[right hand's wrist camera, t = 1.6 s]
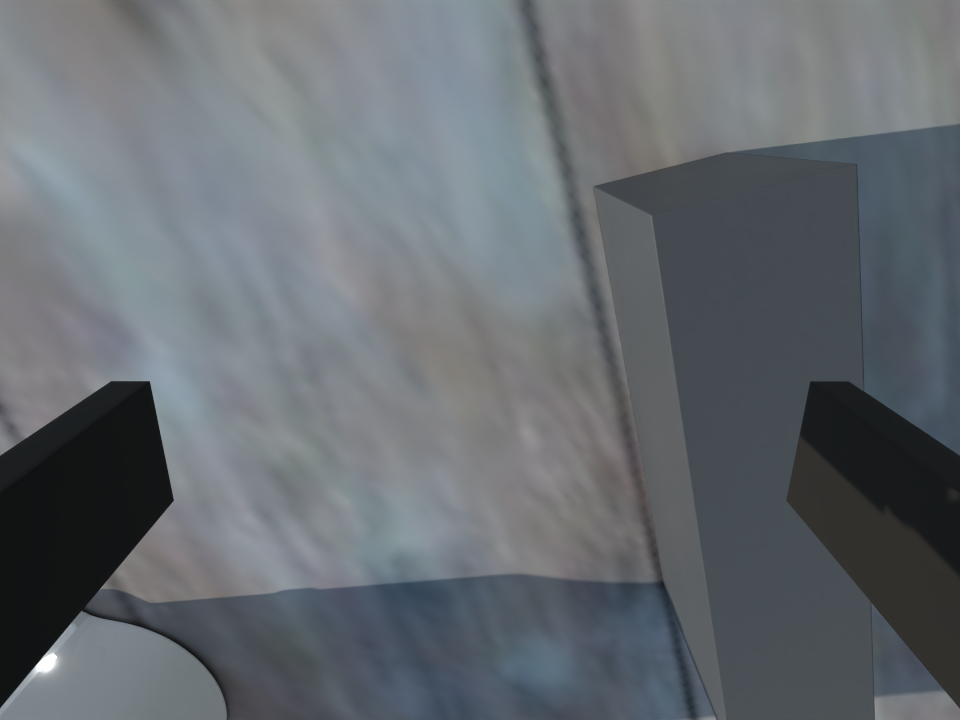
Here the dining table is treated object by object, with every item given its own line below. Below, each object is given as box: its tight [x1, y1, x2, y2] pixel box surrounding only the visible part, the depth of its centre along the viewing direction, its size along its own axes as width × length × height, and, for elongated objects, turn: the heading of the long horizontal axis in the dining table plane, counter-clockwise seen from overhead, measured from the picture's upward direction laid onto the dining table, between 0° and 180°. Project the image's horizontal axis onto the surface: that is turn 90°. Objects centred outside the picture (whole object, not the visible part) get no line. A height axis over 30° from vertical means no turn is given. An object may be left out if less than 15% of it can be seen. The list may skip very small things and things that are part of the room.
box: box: [593, 153, 875, 720], centre depth 28 cm, size 25×6×11 cm, turn 14°
